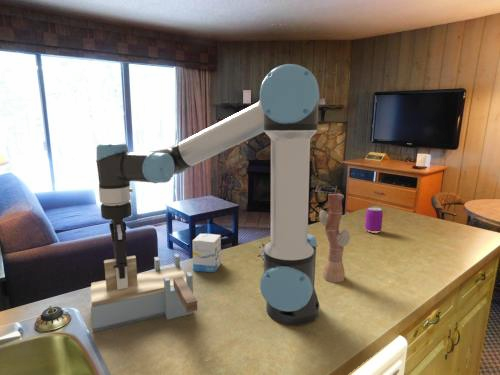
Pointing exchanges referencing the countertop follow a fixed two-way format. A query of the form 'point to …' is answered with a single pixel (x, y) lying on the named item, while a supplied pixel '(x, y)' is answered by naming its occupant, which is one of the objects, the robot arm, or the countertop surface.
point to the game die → (262, 251)
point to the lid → (131, 283)
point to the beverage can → (374, 219)
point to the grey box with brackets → (142, 304)
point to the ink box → (206, 252)
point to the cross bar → (185, 294)
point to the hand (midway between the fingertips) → (121, 283)
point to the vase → (334, 238)
